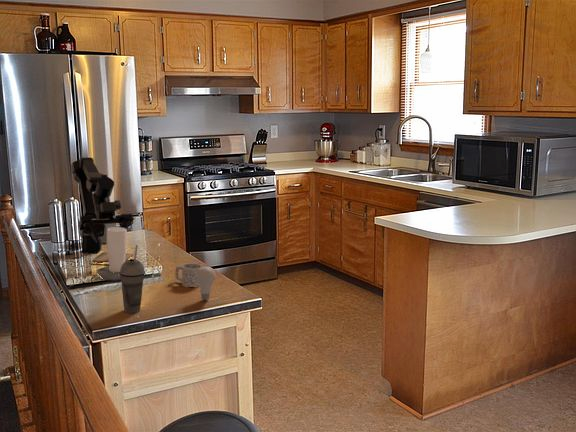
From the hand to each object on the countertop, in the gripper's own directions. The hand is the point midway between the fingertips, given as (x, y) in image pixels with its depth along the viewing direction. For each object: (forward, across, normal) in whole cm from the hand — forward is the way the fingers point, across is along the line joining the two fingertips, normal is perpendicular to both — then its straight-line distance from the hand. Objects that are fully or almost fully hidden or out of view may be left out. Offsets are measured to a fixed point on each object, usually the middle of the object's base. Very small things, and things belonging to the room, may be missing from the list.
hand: (110, 241), depth 212 cm
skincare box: (-22, +9, +38) cm, 45 cm away
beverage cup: (+38, -5, -23) cm, 45 cm away
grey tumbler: (+11, 0, +2) cm, 12 cm away
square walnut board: (-1, +4, +16) cm, 17 cm away
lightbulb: (+38, +18, -23) cm, 48 cm away
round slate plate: (+12, 0, +3) cm, 12 cm away
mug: (+25, +19, -10) cm, 34 cm away
